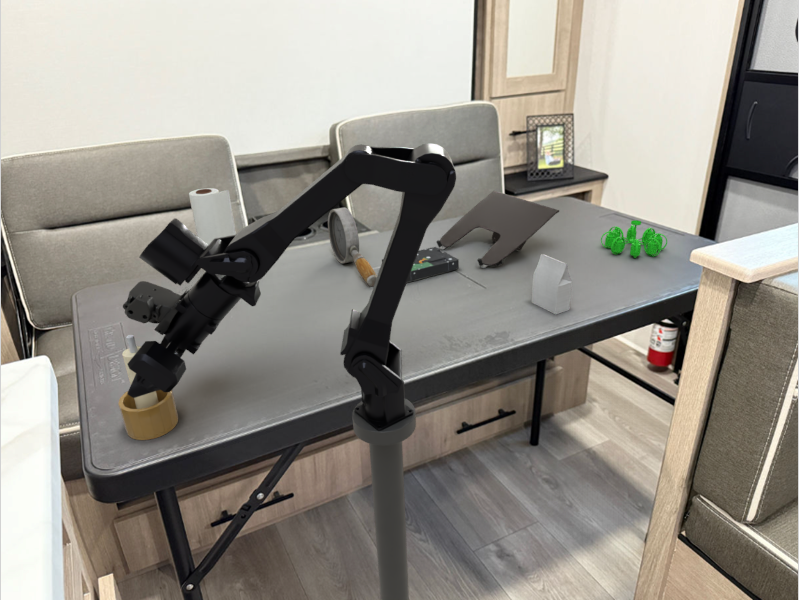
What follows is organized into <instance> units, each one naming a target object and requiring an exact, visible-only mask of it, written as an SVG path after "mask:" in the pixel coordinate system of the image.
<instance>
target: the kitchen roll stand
mask: <svg viewBox="0 0 799 600" xmlns="http://www.w3.org/2000/svg"><path fill="white" fill-rule="evenodd" d="M125 339H126V342H127V346H128V348H126V349H125V350H123V352H122V353H121V354H122V357H123V358H122V359H123V362H124V367H125V370H126V373H127V377H128V380H129V385H130V386H131V384H132V382H133V379H134V377H135V375H136V373H135V372H133V371H132V370H130V369H129V367H128V362H129V361H130V360H131V359H132V357H133V356H134V355H135V354H136V352H137V351H138V350H139V349H140V347H141V346H142V345H141V346H140V345H139V346H138V345H137V342H136V338H135V336H134V334H128V335H125ZM134 400H135V404H136V407H137V409H142V408H148V407H151V406H153V405H156V404H158V403H159V402H158V398H157V394H156V391H155V392H151V393H148V394H145V395H142V396H139V397H136V398H134Z"/></svg>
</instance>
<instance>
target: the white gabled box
mask: <svg viewBox="0 0 799 600" xmlns="http://www.w3.org/2000/svg"><path fill="white" fill-rule="evenodd" d="M570 274H571V273H570V270H569V265H568V263H567V262H564V261H561V260H559V259H557V258H554V257H551V256H549V255H546V254H544V253H541V254H540V257H539V260H538V263H537V265H536V267H535V270H534V272H533V275H532V285H531V286H532V287H531V288H532V289H531V304H534V305H536V306H538V307H539V308H541V309H544V310H545V311H548V312H550V313H552V314H554V315H559V314H562V313H565V312H567V311H570V307H571V299H572V298H571V297H572V287H573V280H572V278H571V275H570Z"/></svg>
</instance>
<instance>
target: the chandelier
mask: <svg viewBox="0 0 799 600" xmlns="http://www.w3.org/2000/svg"><path fill="white" fill-rule="evenodd" d="M641 225H642V221H641V220H631V221H630V226H629V228H628V229H627V232H626V237H625V236H624V232H623V229H622V228H620V227H619V226H615V225H614V226H612V227H611V228H609V230H608V231H606V232H604V233H602V235H601V237H600V243H601V245H602V246H603V248H606V249H610V252H611V253H612V254H613V255H620V254H621V253H622V252H623V250H624V249H625V246H626V245H627V244H631V246H630V252H629V254H630V256H632V257H633V258H634V259H637V258H638V257H639V256H640V255H641V251H642V250H641V249H642V246H643V249H644V251H645V254H647V256H649V257H656V256H658V255H659V254H660V253H661V251H663V250H664V249H665V248H666V247H667V245H668V238H667V236H666V235H664V234H662V233H656V230H655V229H654V228H653V227H648V228H646V229H645V230H644V232H643V233H642V236H641V237H640V238H637V226H641ZM605 235H606V236H605ZM604 236H605V241H604V243H603V237H604ZM663 237H664V238H665V243H664V244H665V245H663V241H664V240H663ZM641 245H642V246H641Z"/></svg>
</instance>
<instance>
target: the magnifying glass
mask: <svg viewBox="0 0 799 600" xmlns="http://www.w3.org/2000/svg"><path fill="white" fill-rule="evenodd" d="M327 233H328V237H329V244H330V246H331V250H332V252H333V255H334V257H335V259H336V260H337V261H338V263H340V264H347V263H352V262H354V264H355V267H356V269H357V271H358V272H359V273H358V274H360V275H361V278H362V279H363V280H364V281H365V283H366V284H367V285H368V286H369V287H374V285H375V282H376V279H377V276H378V274H377V273H376V272H375V270H374V268H373V267H372V265H371V264H370V263H369V261H368V260H367V258H365V257H364V256H363V255H362V254H361V253H360V238H359V231H358V227H357V223H356V221H355V218H354V216H353V214H352V212H351V211H350V209H348V208H347V207H338V208H332V209H331V210H330V211H329V212H328V217H327Z"/></svg>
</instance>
